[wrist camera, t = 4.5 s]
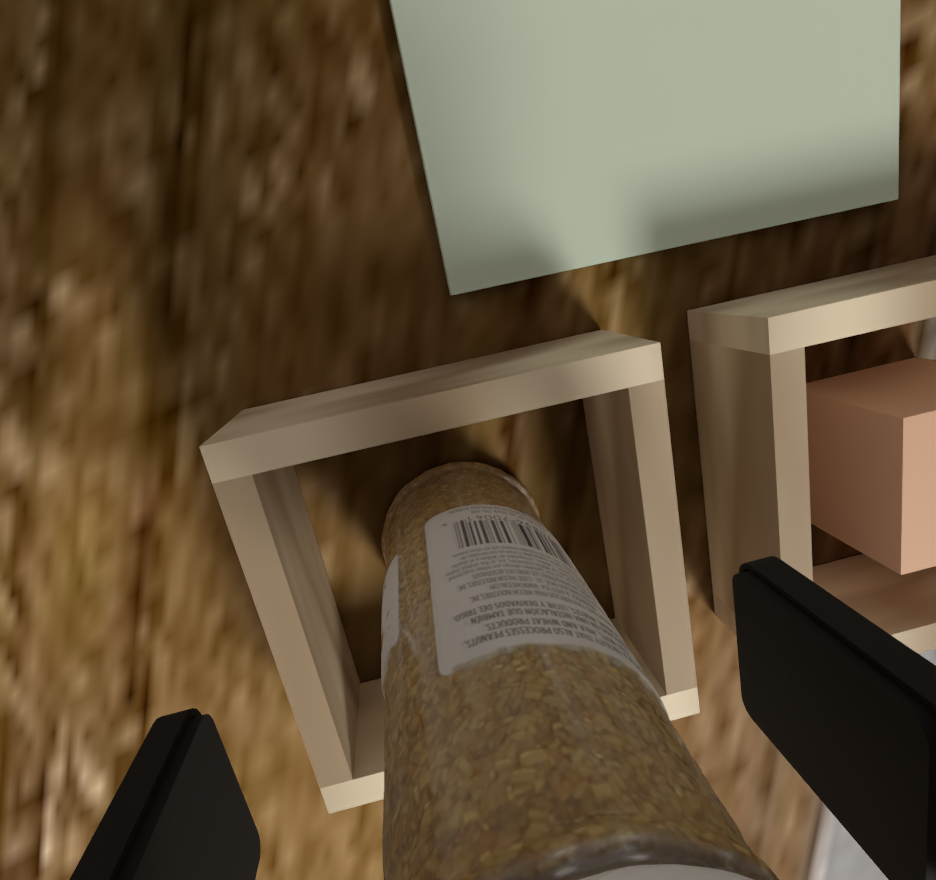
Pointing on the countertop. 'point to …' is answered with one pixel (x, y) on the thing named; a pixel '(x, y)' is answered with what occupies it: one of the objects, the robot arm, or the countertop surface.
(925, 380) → the terracotta cube
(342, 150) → the countertop surface
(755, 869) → the sprinkles bottle
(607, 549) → the box
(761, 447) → the box
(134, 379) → the countertop surface
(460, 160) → the mat
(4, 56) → the countertop surface
